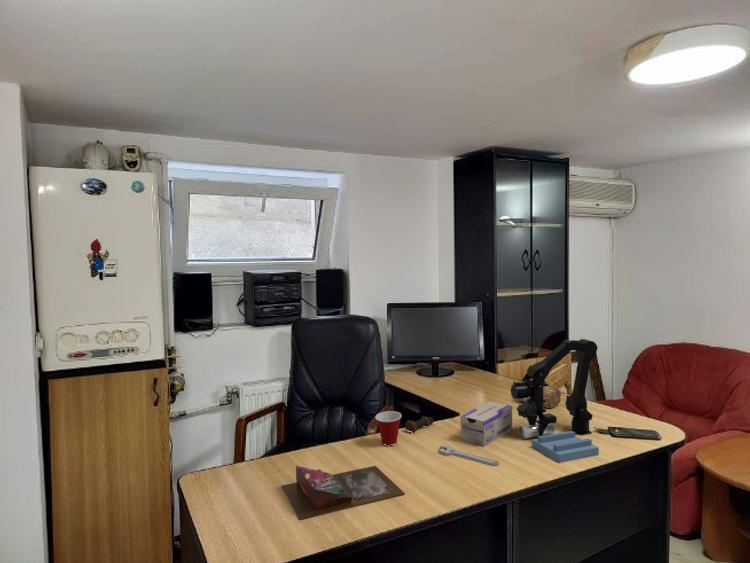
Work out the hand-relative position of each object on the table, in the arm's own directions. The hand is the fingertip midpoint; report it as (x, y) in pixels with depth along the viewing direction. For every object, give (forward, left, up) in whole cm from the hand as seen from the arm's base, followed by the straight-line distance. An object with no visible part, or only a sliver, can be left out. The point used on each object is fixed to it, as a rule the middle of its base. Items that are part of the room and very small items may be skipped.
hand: (536, 433), depth 209 cm
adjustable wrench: (+38, +8, -2) cm, 39 cm away
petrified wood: (-29, -36, -2) cm, 46 cm away
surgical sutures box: (+18, -9, -2) cm, 20 cm away
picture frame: (+89, +16, -2) cm, 90 cm away
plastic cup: (+60, -16, -1) cm, 62 cm away
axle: (0, 0, -1) cm, 1 cm away
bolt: (+41, -28, -2) cm, 49 cm away
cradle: (0, +17, -1) cm, 17 cm away
